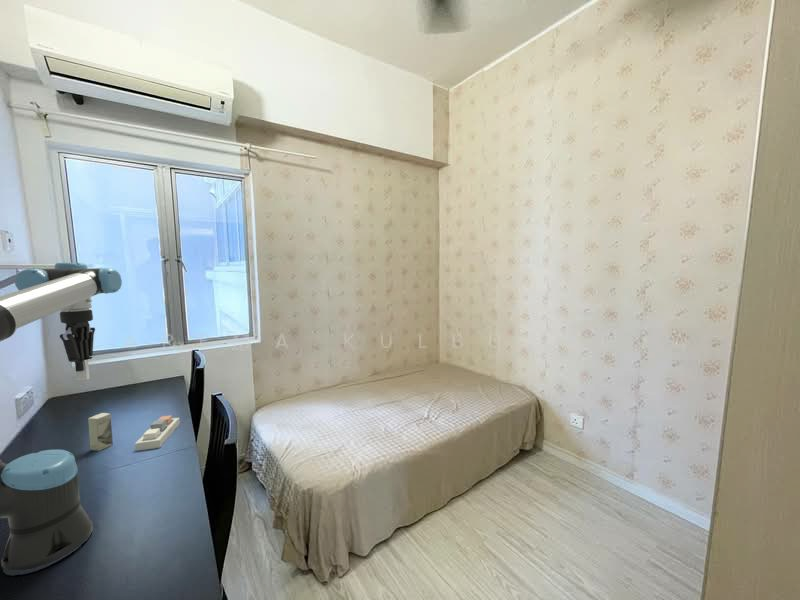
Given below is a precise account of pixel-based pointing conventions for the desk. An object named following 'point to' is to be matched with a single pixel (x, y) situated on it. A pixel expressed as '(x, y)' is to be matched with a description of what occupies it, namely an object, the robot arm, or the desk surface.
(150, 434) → the key ivory
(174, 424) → the keypad housing
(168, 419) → the key terracotta
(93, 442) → the box
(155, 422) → the key slate
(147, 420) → the desk surface
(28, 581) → the desk surface
